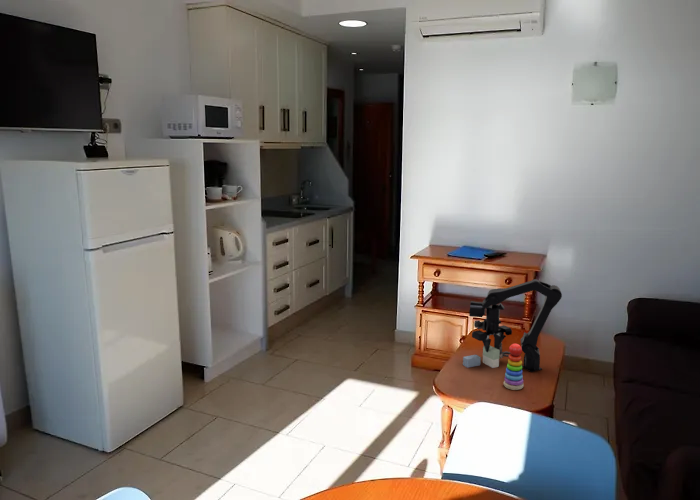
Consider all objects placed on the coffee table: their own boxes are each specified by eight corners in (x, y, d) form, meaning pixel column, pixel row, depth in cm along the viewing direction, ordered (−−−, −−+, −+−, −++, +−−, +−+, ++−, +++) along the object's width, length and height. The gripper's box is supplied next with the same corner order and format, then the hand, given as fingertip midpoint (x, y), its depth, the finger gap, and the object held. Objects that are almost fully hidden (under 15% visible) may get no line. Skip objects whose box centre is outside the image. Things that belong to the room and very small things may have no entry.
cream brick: (498, 367, 244) (499, 358, 243) (492, 368, 243) (492, 360, 242) (488, 361, 250) (489, 353, 250) (482, 362, 249) (482, 354, 248)
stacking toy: (499, 384, 226) (501, 341, 223) (515, 381, 229) (517, 339, 225) (511, 392, 219) (513, 348, 215) (527, 388, 222) (530, 345, 218)
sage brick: (499, 358, 243) (499, 350, 243) (493, 360, 242) (493, 351, 241) (488, 353, 250) (489, 345, 249) (482, 354, 248) (483, 346, 247)
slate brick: (475, 362, 249) (476, 354, 248) (480, 365, 246) (480, 357, 245) (462, 365, 246) (463, 356, 246) (467, 368, 243) (467, 359, 242)
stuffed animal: (513, 358, 251) (492, 341, 254) (500, 372, 255) (479, 355, 258) (516, 349, 262) (496, 333, 264) (504, 363, 266) (484, 347, 268)
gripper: (496, 310, 253) (495, 341, 256) (464, 316, 245) (463, 348, 248) (513, 316, 243) (511, 349, 247) (480, 323, 235) (479, 356, 238)
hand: (491, 350), depth 245 cm, fingers open, 5 cm apart
